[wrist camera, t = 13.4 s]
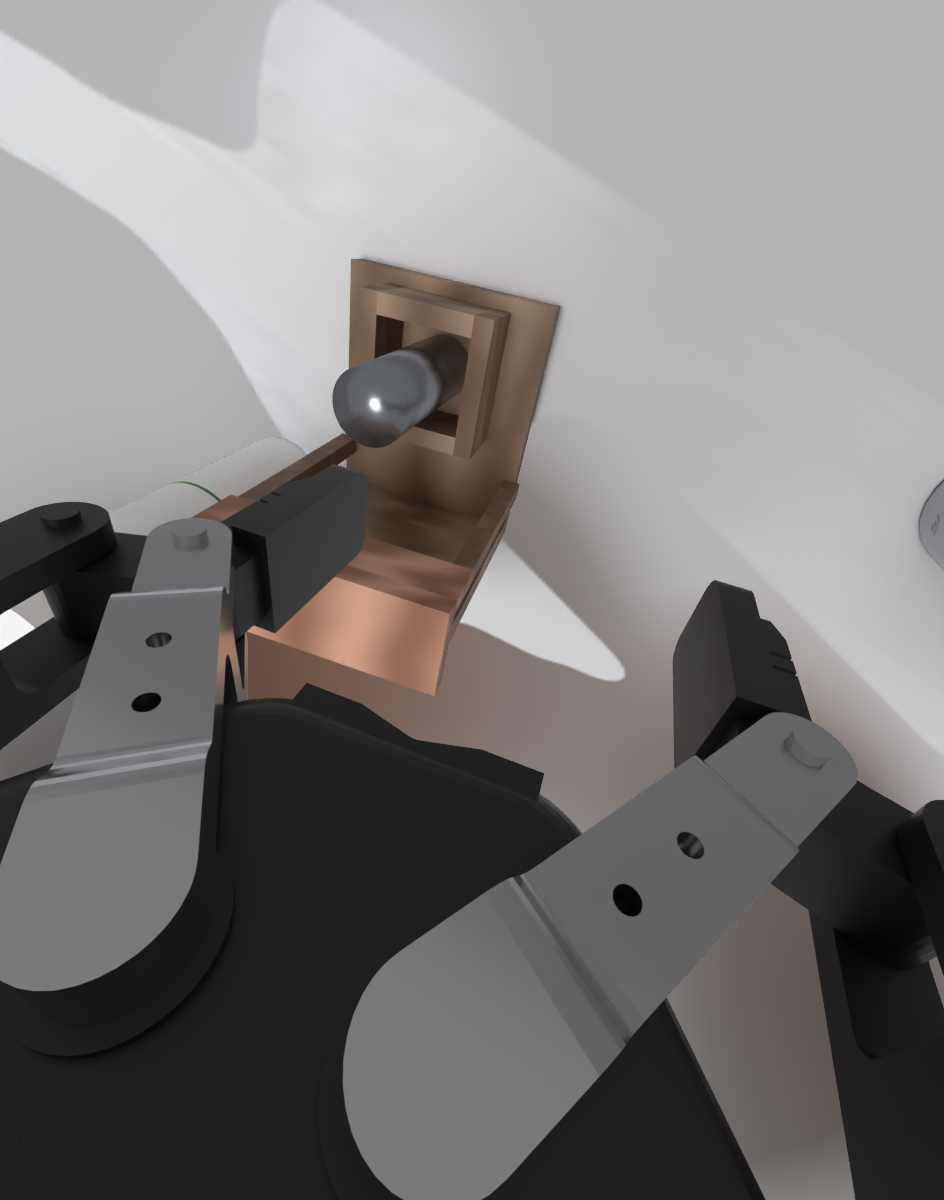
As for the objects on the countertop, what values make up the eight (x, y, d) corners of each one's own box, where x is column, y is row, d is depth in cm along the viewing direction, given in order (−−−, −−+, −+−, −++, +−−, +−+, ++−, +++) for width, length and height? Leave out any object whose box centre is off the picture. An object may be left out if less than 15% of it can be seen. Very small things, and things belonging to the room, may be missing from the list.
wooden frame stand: (567, 308, 32) (498, 358, 17) (508, 538, 43) (434, 696, 28) (354, 257, 34) (120, 261, 19) (349, 490, 44) (196, 613, 29)
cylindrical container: (270, 515, 49) (15, 695, 29) (235, 443, 45) (-83, 592, 25) (330, 507, 46) (96, 699, 26) (299, 430, 42) (1, 585, 23)
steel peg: (475, 342, 33) (408, 377, 24) (465, 402, 36) (401, 456, 26) (419, 327, 34) (332, 357, 24) (413, 388, 36) (332, 436, 27)
